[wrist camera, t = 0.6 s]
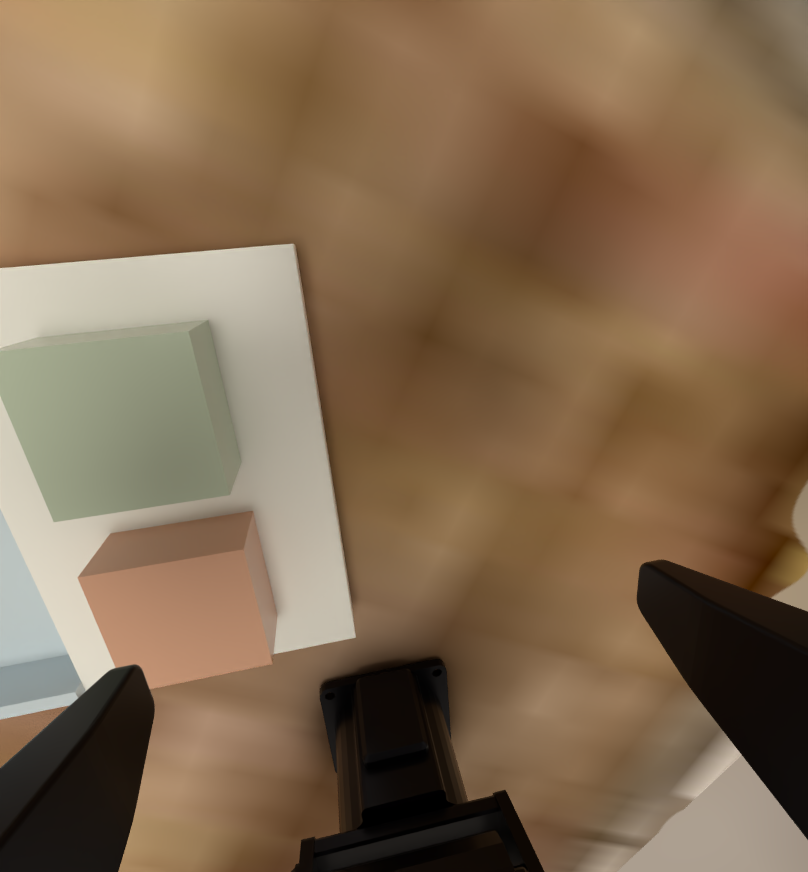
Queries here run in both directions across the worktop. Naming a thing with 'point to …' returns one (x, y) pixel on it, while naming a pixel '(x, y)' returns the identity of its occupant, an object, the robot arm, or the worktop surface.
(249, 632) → the terracotta tile
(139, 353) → the sage tile
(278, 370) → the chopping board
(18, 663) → the tray
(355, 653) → the worktop surface
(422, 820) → the robot arm
